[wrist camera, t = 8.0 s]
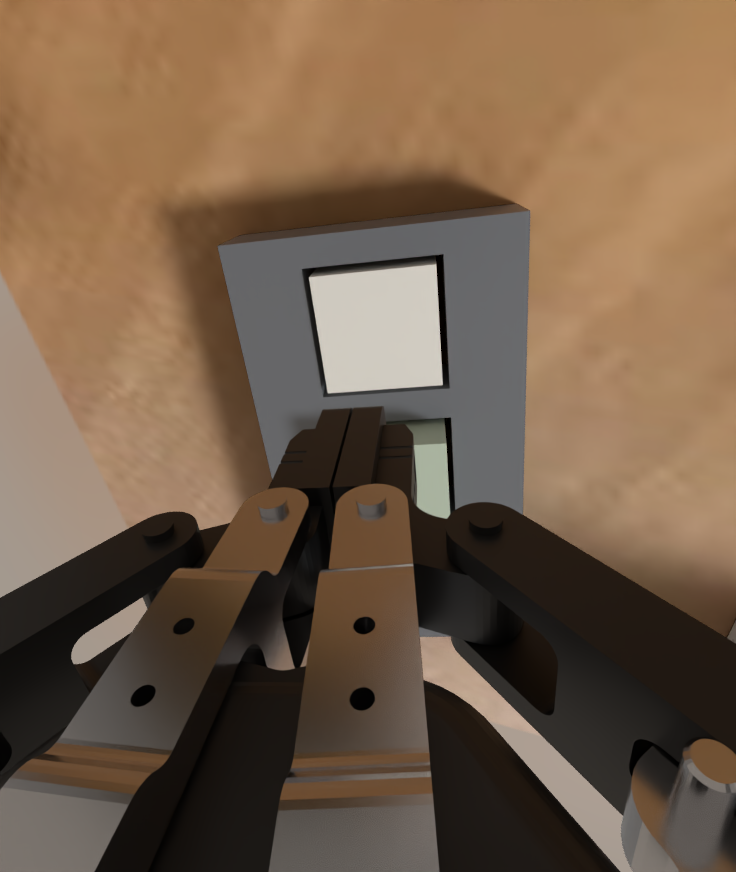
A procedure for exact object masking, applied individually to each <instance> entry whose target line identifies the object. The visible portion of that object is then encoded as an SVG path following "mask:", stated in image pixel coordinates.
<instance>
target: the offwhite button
mask: <svg viewBox="0 0 736 872" xmlns="http://www.w3.org/2000/svg"><path fill="white" fill-rule="evenodd" d="M309 282H310V288H311V294H312V300H313V306H314V312H315V318H316V325H317V331H318V337H319V343H320V349H321V355H322V361H323V367H324V374H325V380H326V386H327V392H328V393H340V392H354V391H368V390H382V389H396V388H410V387H424V386H437V385H443V380H442V362H441V343H440V324H439V306H438V287H437V268H436V259H435V255H430V256H421V257H411V258H401V259H392V260H382V261H372V262H363V263H353V264H344V265H334V266H324V267H317V269H316V270H315V271H314V272H313V273H312V274H311V275H310V277H309Z"/></svg>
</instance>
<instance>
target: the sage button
mask: <svg viewBox="0 0 736 872" xmlns="http://www.w3.org/2000/svg"><path fill="white" fill-rule="evenodd" d="M394 424H405V425H406V426H407V427H408V428H409V429H410V431H411V432H412V433H413V438H414V451H415V464H416V477H417V507H418V508H419V509H421V510H422V511H424V512H426V513H428V514H430V515H433V516H436V517H440V518H446V519H447V518H448V517H449V515H450V501H449V482H448V463H447V445H446V433H445V421H444V418H435V419H420V420H404V421H388V422H386V425H394Z"/></svg>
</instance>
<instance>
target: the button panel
mask: <svg viewBox="0 0 736 872" xmlns="http://www.w3.org/2000/svg"><path fill="white" fill-rule="evenodd" d="M529 240H530V210H528V209H526V208H524V207H522V206H521V205H519V204H509V205H500V206H492V207H483V208H474V209H465V210H457V211H448V212H439V213H430V214H422V215H413V216H404V217H395V218H387V219H378V220H369V221H360V222H352V223H343V224H334V225H325V226H317V227H308V228H299V229H290V230H282V231H273V232H264V233H255V234H247V235H240V236H237V237H235V238H233V239H231V240H229V241H227V242H225V243H223V244H220V245H218V251H219V255H220V259H221V263H222V268H223V272H224V276H225V280H226V285H227V289H228V293H229V297H230V302H231V306H232V310H233V315H234V319H235V323H236V327H237V332H238V336H239V340H240V344H241V349H242V353H243V357H244V361H245V366H246V370H247V374H248V378H249V383H250V387H251V391H252V395H253V400H254V404H255V408H256V412H257V417H258V421H259V425H260V429H261V434H262V438H263V442H264V447H265V451H266V455H267V459H268V464H269V468H270V472H271V476H272V480H273V477H274V475H275V473H276V471H277V468H278V466H279V464H281V459H282V457H283V455H284V454H285V451H286V448H287V446H288V444H289V442H290V440H291V439H292V438H293V437H295V436H296V435H297V434H298V433H299V432H301V431H302V430H303V429H315V428H316V425H317V422H318V420H319V417H320V415H321V412H322V410H323V409H337V408H354V407H369V406H384V411H385V418H386V422H388V421H404V420H420V419H435V418H449V419H450V439H451V460H452V480H453V485H452V486H449V501H450V514H451V513H452V512H453V511H454V510H456V509H458V508H459V507H462V506H464V505H467V504H471V503H476V502H492V503H498V504H502V505H505V506H508V507H510V508H512V509H514V510H516V511H517V512H519V513H521V514H522V515H523V482H524V442H525V401H526V361H527V321H528V280H529ZM440 254H442V275H443V295H444V316H445V336H446V357H447V364H442V380H443V385H437V386H424V387H410V388H396V389H382V390H368V391H354V392H340V393H328V392H327V386H326V380H325V374H324V367H323V361H322V355H321V349H320V343H319V337H318V331H317V325H316V318H315V312H314V306H313V300H312V294H311V288H310V282H309V277H310V275H311V274H312V273H313V272H314V271H315V270H316V269H317V267H324V266H334V265H344V264H353V263H363V262H372V261H382V260H392V259H401V258H411V257H421V256H430V255H440ZM419 634H420V637H449V635H445V634H442V633H438V632H435V631H431V630H428V629H424V628H421V627H419Z"/></svg>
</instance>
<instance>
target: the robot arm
mask: <svg viewBox="0 0 736 872" xmlns="http://www.w3.org/2000/svg"><path fill="white" fill-rule="evenodd" d="M142 597H143V599H144V601H145V604H146V606H147V611H146V612H145V614H144V615H143V617H142V618H141V620H140V621H139V623H138V624H137V625H136V627H135V628H134V630H133V631H132V632H131V633H130V634H128V635H127V636H125V637H124V638H122V639H121V640H119V641H118V642H116V643H115V644H113V645H112V646H110V647H109V648H107V649H106V650H104V651H103V652H102V653H100V654H98V655H97V656H95V657H94V658H92V659H91V660H89V661H87V662H85V663H82V664H73V662H72V660H71V652H72V649H73V647H74V645H75V643H76V642H77V641H78V639H79V638H80V637H81V636H82V635H83V634H85V633H86V632H88V631H89V630H91V629H93V628H94V627H96V626H97V625H99V624H101V623H102V622H104V621H105V620H107V619H109V618H110V617H112V616H113V615H115V614H116V613H118V612H120V611H121V610H123V609H124V608H126V607H127V606H129V605H131V604H132V603H134V602H135V601H137V600H138V599H140V598H142ZM419 627H421V628H424V629H428V630H431V631H435V632H438V633H442V634H445V635H449V636H451V641H452V644H453V646H454V648H455V650H456V651H457V652H458V653H459V654H460V656H462V657H463V658H464V659H465V660H466V661H467V662H468V663H469V664H470V665H471V666H472V667H473V668H474V669H475V670H476V671H477V672H478V673H479V674H480V675H481V676H482V677H483V678H484V679H485V680H486V681H487V682H488V683H489V684H490V685H491V686H492V687H493V688H494V689H495V690H496V691H497V692H498V693H499V694H500V695H501V696H502V697H503V698H504V699H505V700H506V701H507V702H508V703H509V704H510V705H511V706H512V707H513V708H514V709H515V710H516V711H517V712H518V713H519V714H520V715H521V716H522V717H523V718H524V719H525V720H526V721H527V722H528V723H529V724H530V725H531V726H532V727H533V728H534V729H535V730H536V731H538V732H539V733H540V734H541V735H542V736H543V737H544V738H545V739H546V740H547V741H548V742H549V743H550V744H551V745H552V746H553V747H554V748H555V749H556V750H557V751H558V752H559V753H560V754H561V755H562V756H563V757H564V758H565V759H566V760H567V761H568V762H569V763H570V764H571V765H572V766H573V767H574V768H575V769H576V770H577V771H578V772H579V773H580V774H581V775H582V776H583V777H584V778H585V779H586V780H587V781H588V782H589V783H590V784H591V785H592V786H593V787H594V788H595V789H596V790H597V791H598V792H599V793H600V794H601V795H602V796H603V797H604V798H605V799H606V800H607V801H608V802H609V803H610V804H612V806H613V807H615V808H616V809H617V810H618V811H619V812H620V813H621V814H622V815H623V821H622V825H621V838H622V845H623V849H624V852H625V856H626V858H627V861H628V863H629V865H630V867H631V869H632V871H633V872H736V643H734V642H732V641H731V640H729V639H727V638H726V637H724V636H723V635H721V634H719V633H718V632H716V631H714V630H713V629H711V628H709V627H708V626H706V625H704V624H703V623H701V622H699V621H698V620H696V619H694V618H693V617H691V616H689V615H688V614H686V613H684V612H683V611H681V610H679V609H678V608H676V607H675V606H673V605H671V604H670V603H668V602H666V601H665V600H663V599H661V598H660V597H658V596H656V595H655V594H653V593H651V592H650V591H648V590H646V589H645V588H643V587H641V586H640V585H638V584H636V583H635V582H633V581H631V580H630V579H628V578H626V577H625V576H623V575H622V574H620V573H618V572H617V571H615V570H613V569H612V568H610V567H608V566H607V565H605V564H603V563H602V562H600V561H598V560H597V559H595V558H593V557H592V556H590V555H588V554H587V553H585V552H583V551H582V550H580V549H578V548H577V547H575V546H574V545H572V544H570V543H569V542H567V541H565V540H564V539H562V538H560V537H559V536H557V535H555V534H554V533H552V532H550V531H549V530H547V529H545V528H544V527H542V526H540V525H539V524H537V523H535V522H534V521H532V520H530V519H529V518H527V517H526V516H524V515H522V514H521V513H519V512H517V511H516V510H514V509H512V508H510V507H508V506H505V505H502V504H498V503H492V502H476V503H471V504H467V505H464V506H462V507H459V508H458V509H456V510H454V511H453V512H452V513H451V514H450V515H449V517H448V518H447V519H446V518H440V517H436V516H433V515H430V514H428V513H426V512H424V511H422V510H421V509H419V508H418V507H417V477H416V464H415V451H414V438H413V433H412V432H411V431H410V429H409V428H408V427H407V426H406V425H405V424H394V425H386V418H385V411H384V406H369V407H354V408H337V409H323V410H322V412H321V415H320V417H319V420H318V422H317V425H316V428H315V429H303V430H302V431H301V432H299V433H298V434H297V435H296V436H295V437H293V438H292V439H291V440H290V442H289V444H288V446H287V448H286V451H285V454H284V455H283V457H282V459H281V464H279V466H278V468H277V471H276V473H275V475H274V477H273V480H272V482H271V484H270V486H269V488H268V490H265V491H262V492H260V493H257V494H255V495H253V496H252V497H250V498H249V499H247V500H246V501H245V502H244V503H243V504H242V506H241V507H240V509H239V510H238V512H237V513H236V515H235V517H234V518H233V520H232V521H231V523H228V524H224V525H220V526H216V527H212V528H208V529H204V530H199V527H198V524H197V521H196V519H195V518H194V517H193V516H192V515H190V514H188V513H185V512H167V513H162V514H158V515H155V516H152V517H150V518H148V519H146V520H144V521H142V522H140V523H138V524H136V525H134V526H132V527H131V528H129V529H127V530H125V531H123V532H121V533H119V534H118V535H116V536H114V537H112V538H110V539H108V540H106V541H105V542H103V543H101V544H99V545H97V546H95V547H94V548H92V549H90V550H88V551H86V552H84V553H82V554H81V555H79V556H77V557H75V558H73V559H71V560H69V561H68V562H66V563H64V564H62V565H61V566H58V567H56V568H55V569H53V570H51V571H49V572H47V573H45V574H43V575H42V576H40V577H38V578H36V579H34V580H32V581H31V582H29V583H27V584H25V585H23V586H21V587H19V588H18V589H16V590H14V591H12V592H10V593H8V594H6V595H5V596H3V597H1V598H0V872H620V871H619V870H618V869H617V867H616V866H615V865H614V864H613V863H612V862H611V861H610V859H609V858H608V857H607V856H606V855H605V854H604V853H603V851H602V850H601V849H600V848H599V847H598V846H597V845H596V843H595V842H594V841H593V840H592V839H591V838H590V837H589V835H588V834H587V833H586V832H585V831H584V830H583V829H582V827H581V826H580V825H579V824H578V823H577V822H576V821H575V819H574V818H573V817H572V816H571V815H570V814H569V813H568V812H567V810H566V809H565V808H564V807H563V806H562V805H561V804H560V802H559V801H558V800H557V799H556V798H555V797H554V796H553V794H552V793H551V792H550V791H549V790H548V789H547V788H546V786H545V785H544V784H543V783H542V782H541V781H540V780H539V778H538V777H537V776H536V775H535V774H534V773H533V772H532V770H531V769H530V768H529V767H528V766H527V765H526V764H525V762H524V761H523V760H522V759H521V758H520V757H519V756H518V754H517V753H516V752H515V751H514V750H513V749H512V748H511V747H510V745H509V744H508V743H507V742H506V741H505V740H504V739H503V737H502V736H501V735H500V734H499V733H498V732H497V731H496V729H494V727H493V726H492V725H491V724H490V723H489V722H488V721H487V720H486V718H485V717H484V716H483V715H481V714H480V713H479V712H478V711H477V710H476V709H475V708H473V707H472V706H471V705H470V704H468V703H467V702H465V701H464V700H463V699H461V698H460V697H458V696H457V695H455V694H454V693H452V692H450V691H448V690H446V689H444V688H442V687H440V686H438V685H435V684H433V683H430V682H428V681H425V680H423V669H422V658H421V646H420V634H419Z"/></svg>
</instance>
